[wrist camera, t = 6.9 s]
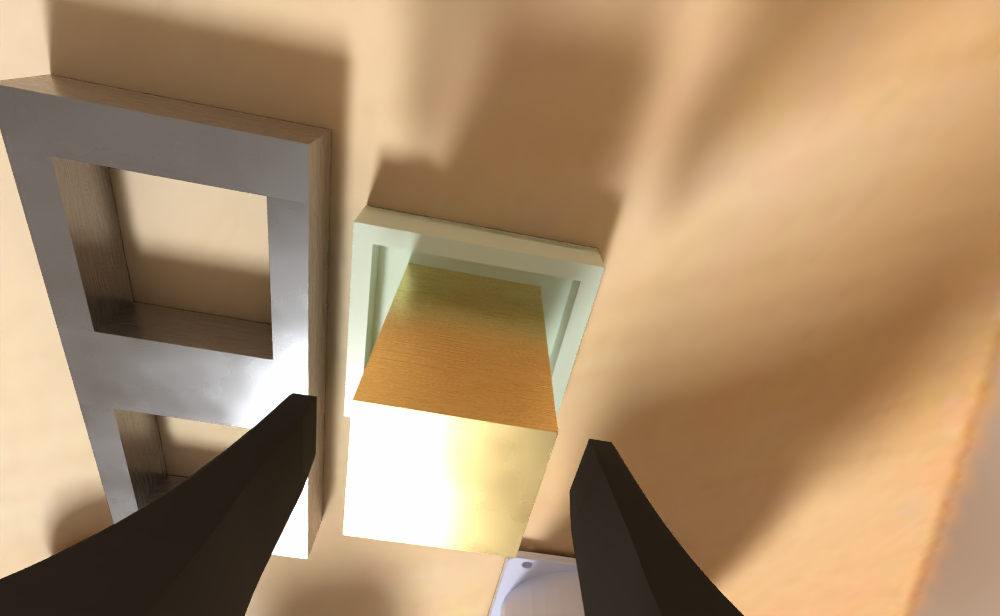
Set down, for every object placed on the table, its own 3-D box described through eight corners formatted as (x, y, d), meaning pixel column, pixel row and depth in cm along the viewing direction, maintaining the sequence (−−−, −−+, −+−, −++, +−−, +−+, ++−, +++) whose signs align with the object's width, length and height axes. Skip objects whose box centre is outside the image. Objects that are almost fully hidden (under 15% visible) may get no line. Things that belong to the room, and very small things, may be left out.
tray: (597, 248, 17) (605, 267, 16) (544, 419, 21) (546, 447, 19) (365, 205, 16) (353, 221, 15) (354, 390, 20) (344, 416, 19)
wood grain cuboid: (540, 286, 17) (558, 433, 11) (513, 388, 19) (515, 557, 13) (408, 262, 17) (351, 400, 11) (395, 369, 19) (343, 534, 13)
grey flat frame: (331, 130, 15) (309, 144, 13) (322, 519, 24) (307, 558, 22) (49, 74, 14) (-13, 82, 13) (146, 496, 23) (116, 534, 22)
